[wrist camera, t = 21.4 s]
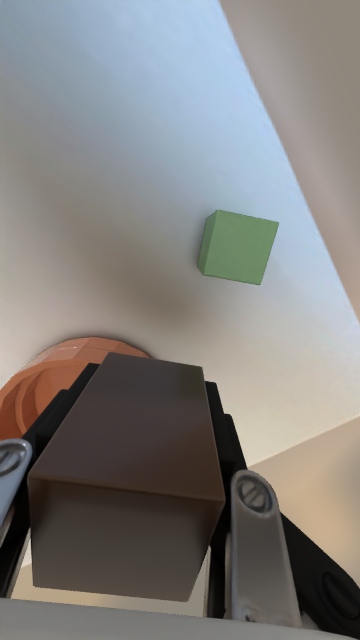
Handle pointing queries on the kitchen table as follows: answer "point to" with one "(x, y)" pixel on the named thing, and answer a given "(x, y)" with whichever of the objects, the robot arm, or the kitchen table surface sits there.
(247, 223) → the sage-green block
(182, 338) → the kitchen table surface
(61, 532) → the walnut block
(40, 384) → the bowl
